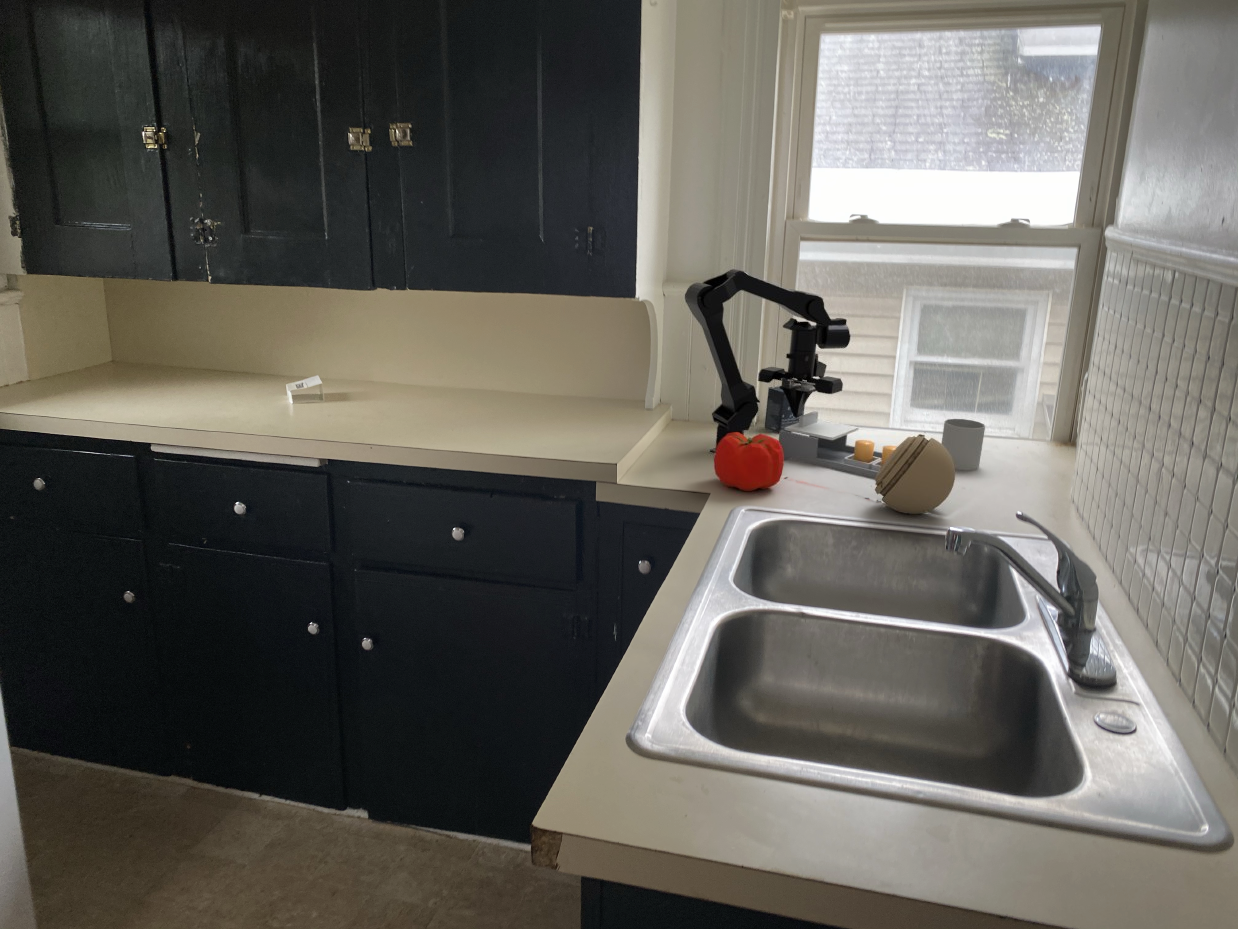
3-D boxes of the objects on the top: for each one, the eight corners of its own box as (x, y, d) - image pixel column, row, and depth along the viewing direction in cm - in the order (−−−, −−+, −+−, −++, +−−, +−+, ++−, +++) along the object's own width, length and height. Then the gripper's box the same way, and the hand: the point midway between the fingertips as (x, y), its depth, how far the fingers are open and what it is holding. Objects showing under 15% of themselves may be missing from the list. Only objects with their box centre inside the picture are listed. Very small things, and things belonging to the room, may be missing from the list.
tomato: (705, 490, 189) (708, 439, 186) (723, 472, 201) (726, 424, 198) (773, 501, 184) (777, 448, 181) (787, 482, 196) (792, 433, 193)
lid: (832, 440, 205) (833, 426, 204) (784, 430, 212) (785, 416, 211) (858, 430, 214) (859, 417, 213) (811, 420, 221) (813, 407, 220)
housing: (888, 484, 197) (892, 455, 196) (777, 457, 213) (779, 430, 211) (917, 469, 209) (921, 442, 207) (809, 445, 224) (812, 419, 222)
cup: (980, 465, 213) (986, 422, 211) (976, 475, 206) (983, 430, 203) (940, 459, 217) (946, 416, 214) (936, 469, 210) (942, 424, 207)
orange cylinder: (894, 474, 202) (896, 451, 201) (876, 470, 205) (879, 447, 203) (902, 470, 205) (905, 448, 203) (885, 466, 207) (888, 444, 206)
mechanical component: (916, 496, 191) (926, 423, 186) (966, 521, 177) (978, 443, 173) (852, 502, 186) (860, 427, 181) (898, 528, 172) (909, 448, 168)
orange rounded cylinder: (866, 468, 206) (869, 445, 204) (849, 464, 208) (852, 442, 207) (874, 464, 209) (877, 442, 207) (857, 460, 211) (860, 438, 210)
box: (779, 434, 233) (783, 391, 230) (763, 428, 238) (767, 386, 235) (803, 430, 238) (807, 388, 235) (787, 425, 242) (791, 384, 239)
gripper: (857, 351, 215) (849, 418, 219) (784, 339, 226) (778, 404, 230) (834, 356, 206) (827, 427, 211) (759, 345, 217) (754, 411, 222)
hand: (796, 417), depth 219 cm, fingers closed
